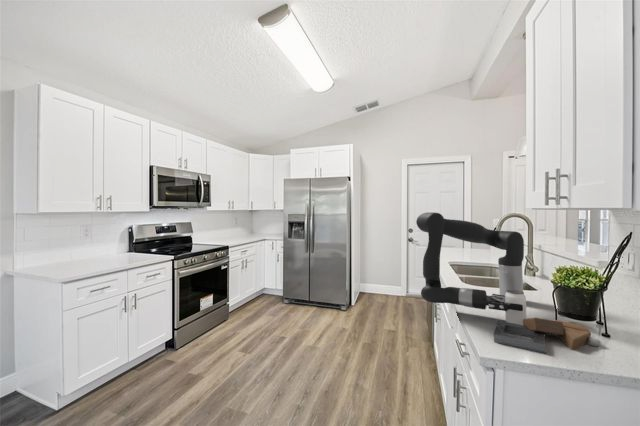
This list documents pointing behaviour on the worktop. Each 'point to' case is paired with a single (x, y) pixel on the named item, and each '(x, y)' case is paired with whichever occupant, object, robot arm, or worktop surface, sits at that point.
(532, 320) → the wooden blocks
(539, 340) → the gray square frame plate
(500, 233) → the robot arm
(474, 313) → the worktop surface
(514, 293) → the can
